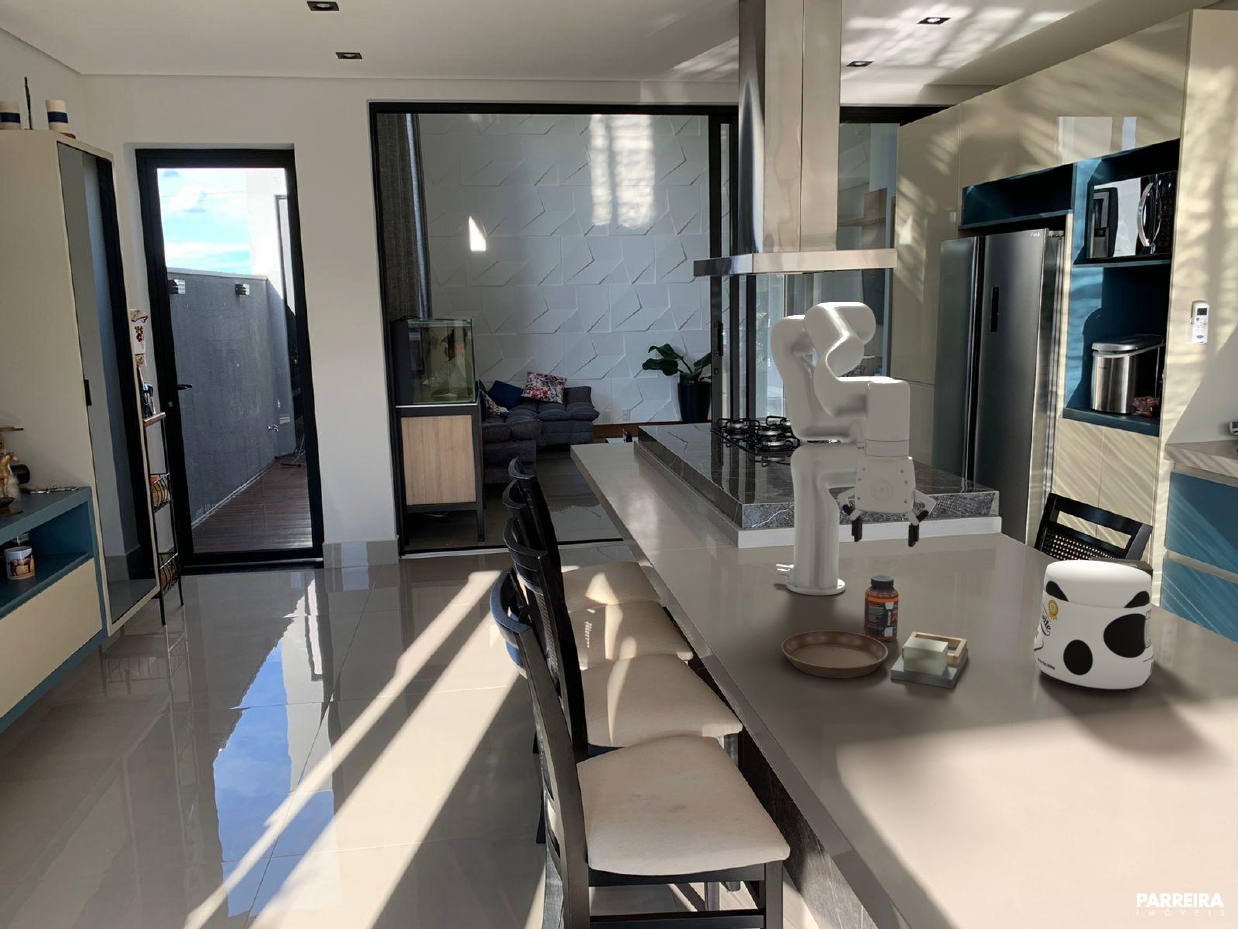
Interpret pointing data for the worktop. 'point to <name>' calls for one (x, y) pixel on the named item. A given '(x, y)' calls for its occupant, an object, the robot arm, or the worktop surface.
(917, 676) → the base
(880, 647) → the plant saucer
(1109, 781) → the worktop surface
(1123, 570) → the milk container
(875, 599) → the supplement bottle
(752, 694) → the worktop surface
